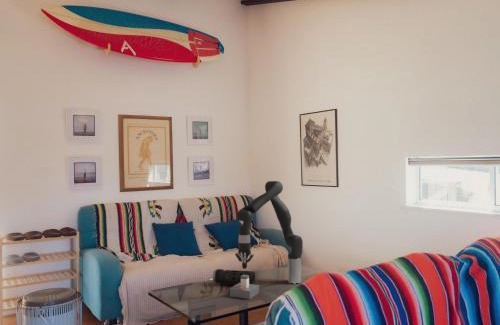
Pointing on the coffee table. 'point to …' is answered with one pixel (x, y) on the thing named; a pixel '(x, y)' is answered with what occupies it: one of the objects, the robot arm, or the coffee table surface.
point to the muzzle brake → (232, 276)
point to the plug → (245, 281)
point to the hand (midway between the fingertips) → (244, 268)
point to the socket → (244, 291)
